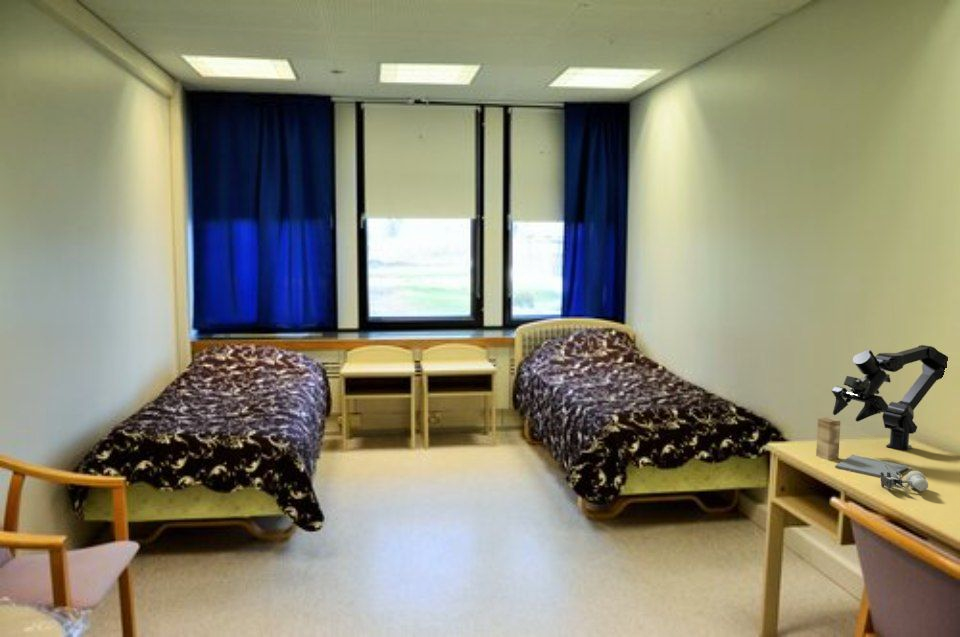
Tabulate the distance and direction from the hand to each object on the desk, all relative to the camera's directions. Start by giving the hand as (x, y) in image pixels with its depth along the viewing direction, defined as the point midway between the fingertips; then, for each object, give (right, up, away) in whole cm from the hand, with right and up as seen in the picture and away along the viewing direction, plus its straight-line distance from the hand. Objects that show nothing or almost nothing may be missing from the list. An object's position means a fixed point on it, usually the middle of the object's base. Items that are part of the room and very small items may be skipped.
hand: (844, 417), depth 236 cm
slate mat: (+2, -15, -13) cm, 19 cm away
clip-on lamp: (+2, -16, -29) cm, 33 cm away
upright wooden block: (-6, -13, -1) cm, 15 cm away
